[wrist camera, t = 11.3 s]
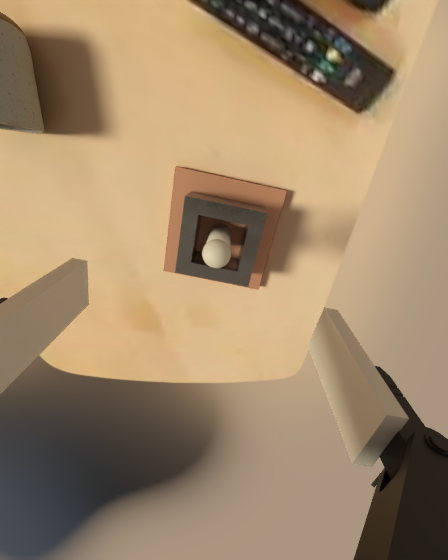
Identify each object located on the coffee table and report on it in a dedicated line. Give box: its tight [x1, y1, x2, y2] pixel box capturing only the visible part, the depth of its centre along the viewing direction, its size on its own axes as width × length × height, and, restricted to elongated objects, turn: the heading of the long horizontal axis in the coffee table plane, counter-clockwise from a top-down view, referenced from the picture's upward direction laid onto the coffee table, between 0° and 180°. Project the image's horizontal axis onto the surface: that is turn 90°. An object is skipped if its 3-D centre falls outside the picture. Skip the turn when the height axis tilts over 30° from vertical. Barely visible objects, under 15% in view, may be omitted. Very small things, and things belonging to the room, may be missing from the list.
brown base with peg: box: [164, 167, 287, 289], centre depth 26 cm, size 12×12×9 cm
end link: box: [175, 191, 268, 287], centre depth 28 cm, size 8×8×4 cm
